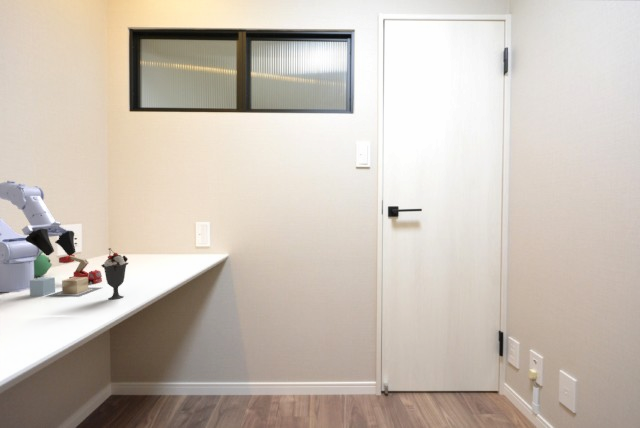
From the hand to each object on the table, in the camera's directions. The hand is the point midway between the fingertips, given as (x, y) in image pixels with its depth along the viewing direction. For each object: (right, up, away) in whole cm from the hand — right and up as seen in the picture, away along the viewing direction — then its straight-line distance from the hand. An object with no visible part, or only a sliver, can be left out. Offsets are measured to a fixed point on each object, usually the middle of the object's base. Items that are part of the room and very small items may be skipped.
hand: (61, 253), depth 97 cm
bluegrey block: (-5, -12, -1) cm, 13 cm away
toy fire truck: (-4, -12, +13) cm, 19 cm away
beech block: (+3, -12, +1) cm, 12 cm away
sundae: (+20, -13, -5) cm, 24 cm away
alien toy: (-28, -12, +24) cm, 38 cm away
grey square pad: (+3, -12, +1) cm, 13 cm away
